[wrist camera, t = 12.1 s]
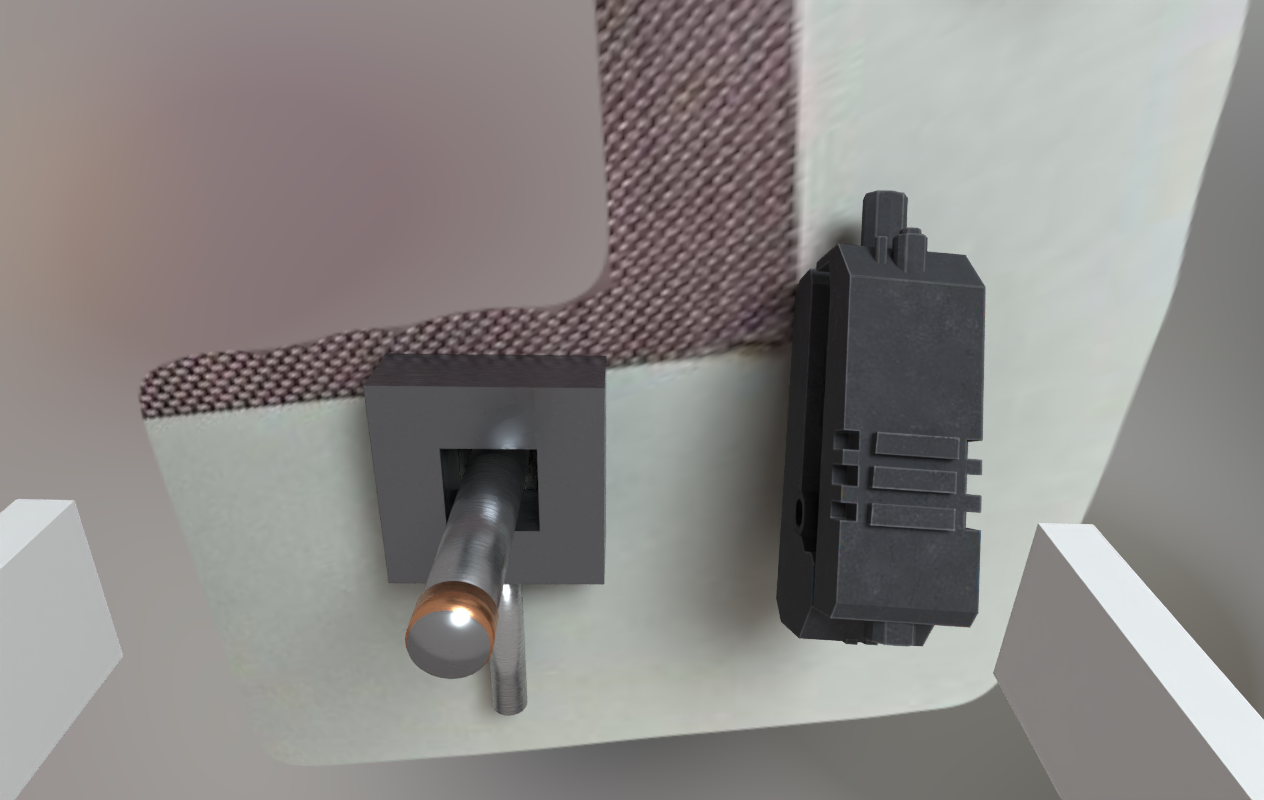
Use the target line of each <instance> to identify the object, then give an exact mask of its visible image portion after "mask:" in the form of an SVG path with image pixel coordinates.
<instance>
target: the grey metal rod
mask: <svg viewBox="0 0 1264 800" xmlns="http://www.w3.org/2000/svg"><path fill="white" fill-rule="evenodd" d="M529 460H530V449H472V452H471V455H470V458H469V461H468V464H467V467H466V470H465V473H464V475H463V478H462V481H461V484H460V487H459V490H458V493H457V496H456V499H455V502H454V504H453V507H452V510H451V513H450V516H449V519H448V522H447V525H446V528H445V530H444V533H443V536H442V539H441V542H440V545H439V548H438V551H437V554H436V556H435V559H434V562H433V565H432V568H431V571H430V574H429V577H428V580H427V582H426V585H425V588H424V591H423V593H422V594H421V596H420V597H419V599H418V601H417V603H416V606H415V609H414V612H413V615H412V618H411V620H410V623H409V626H408V629H407V632H406V637H405V643H406V648H407V651H408V653H409V655H410V657H411V659H412V660H413V662H414V663H415V664H416V665H417V666H418V667H419V668H420V669H422V670H423V671H425V672H427V673H429V674H431V675H433V676H436V677H440V678H448V679H456V678H462V677H466V676H469V675H471V674H473V673H475V672H477V671H478V670H479V669H480V668H482V667H483V666H484V665H485V664H486V663H487V662H488V660H489V658H490V657H491V654H492V651H493V646H494V641H495V636H496V631H497V626H498V621H499V613H498V608H499V604H500V599H501V594H502V589H503V585H504V580H505V575H506V570H507V565H508V561H509V556H510V551H511V546H512V541H513V537H514V532H515V527H516V522H517V517H518V513H519V508H520V503H521V498H522V493H523V489H524V484H525V479H526V474H527V469H528V465H529Z"/></svg>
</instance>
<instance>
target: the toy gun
mask: <svg viewBox="0 0 1264 800" xmlns="http://www.w3.org/2000/svg"><path fill="white" fill-rule="evenodd" d="M907 204H908V198H907V196H906V195H905V194H904V193H901V192H896V191H874V192H870V193H867V194H866V195H865V197H864V200H863V211H862V231H861V246H858V245H847V244H837V245H836V246H835V247H834V248H833V249H832V250H830V251H829V252H828V253H827V254H826V255H825V256H824V257H823V258H821V259H820V260H819V261H818V262H817V269H810V270H809V271H808V272H807V273H806V274H805V275H804V276H803V277H802V279H801V280H800V282H799V286H798V290H797V294H796V297H795V310H794V326H793V342H792V358H791V374H790V390H789V406H788V422H787V438H786V453H785V469H784V485H783V501H782V517H781V533H780V549H779V565H778V581H777V597H776V599H777V604H778V609H779V614H780V619H781V622H782V623H783V624H784V625H785V626H786V627H787V628H789V629H790V630H791V631H792V632H793V633H794V634H795V635H796V636H797V637H798V638H804V639H819V640H834V641H843V642H844V643H846V644H854V645H857V642H862V643H864V644H866V645H878V643H880V644H884V645H893V646H923V645H924V643H925V641H926V639H927V638H928V636H929V634H930V632H931V630H932V629H933V627H934V625H941V626H956V627H970V626H971V625H972V623H973V621H974V619H975V618H976V616H977V614H978V604H979V572H980V541H981V530H975V529H970V528H966V512H977V513H981V496H980V495H970V494H966V489H967V474H969V475H982V460H978V459H967V457H968V442H972V441H983V391H984V339H985V286H984V284H983V282H982V281H981V279H980V278H979V276H978V274H977V273H976V271H975V270H974V268H973V266H972V265H971V263H970V262H969V260H968V258H967V257H966V255H959V254H948V253H937V252H927V239H928V238H927V237H926V236H925V235H923V234H921V230H920V229H919V228H906V226H907Z"/></svg>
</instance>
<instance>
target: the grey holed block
mask: <svg viewBox="0 0 1264 800" xmlns="http://www.w3.org/2000/svg"><path fill="white" fill-rule="evenodd" d="M363 387H364V395H365V402H366V410H367V418H368V426H369V433H370V441H371V449H372V457H373V464H374V472H375V480H376V488H377V495H378V503H379V511H380V519H381V526H382V534H383V542H384V550H385V557H386V565H387V573H388V581H389V583H426V582H427V580H428V577H429V574H430V571H431V568H432V565H433V562H434V559H435V556H436V554H437V551H438V548H439V545H440V542H441V539H442V536H443V533H444V530H445V528H446V525H447V522H448V519H449V516H450V513H451V510H452V507H453V504H454V502H455V499H456V496H457V493H458V490H459V487H460V484H461V482H460V469H459V457H458V449H537V465H538V490H523V493H522V498H521V503H520V508H519V513H518V517H517V522H516V527H515V532H514V537H513V541H512V546H511V551H510V556H509V561H508V565H507V570H506V575H505V580H504V585H503V589H502V594H501V599H500V604H499V608H498V613H499V621H498V626H497V631H496V636H495V641H494V646H493V651H492V654H491V657H490V671H491V685H492V699H493V707H494V709H495V711H496V712H498V713H499V714H502V715H515V714H518V713H520V712H521V711H523V710H524V709H525V707H526V705H527V681H526V660H525V639H524V618H523V597H522V584H604V574H605V542H606V356H554V355H466V354H385V356H384V357H383V359H382V360H381V361H380V363H379V364H378V366H377V367H376V368H375V370H374V371H373V373H372V374H371V376H370V377H369V378H368V380H367V381H366V383H365V384H364V386H363Z"/></svg>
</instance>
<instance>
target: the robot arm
mask: <svg viewBox="0 0 1264 800" xmlns="http://www.w3.org/2000/svg"><path fill="white" fill-rule="evenodd" d="M122 657H123V654H122V650H121V648H120V644H119V641H118V637H117V634H116V631H115V628H114V625H113V622H112V618H111V615H110V612H109V609H108V606H107V603H106V599H105V596H104V593H103V590H102V587H101V583H100V580H99V577H98V574H97V570H96V567H95V564H94V561H93V558H92V555H91V551H90V548H89V545H88V542H87V539H86V535H85V532H84V529H83V526H82V522H81V519H80V516H79V513H78V510H77V506H76V503H75V501H74V500H37V499H16V500H15V501H14V502H13V503H12V504H10V505H9V506H8V507H7V508H6V509H4V510H3V511H2V512H1V513H0V800H15V799H16V798H17V796H18V795H19V794H20V792H21V791H22V790H23V788H24V787H25V786H26V784H27V783H28V782H29V780H30V779H31V778H32V776H33V775H34V774H35V772H36V771H37V770H38V768H39V767H40V766H41V764H42V763H43V762H44V760H45V759H46V758H47V756H48V755H49V754H50V752H51V751H52V750H53V748H54V747H55V746H56V745H57V743H58V742H59V741H60V739H61V738H62V736H63V735H64V734H65V733H66V731H67V730H68V729H69V727H70V726H71V725H72V723H73V722H74V720H75V719H76V718H77V717H78V715H79V714H80V712H81V711H82V710H83V709H84V707H85V706H86V705H87V703H88V702H89V701H90V699H91V698H92V697H93V695H94V694H95V693H96V691H97V690H98V689H99V687H100V686H101V685H102V683H103V682H104V681H105V679H106V678H107V677H108V675H109V674H110V673H111V671H112V670H113V669H114V667H115V666H116V665H117V663H118V662H119V661H120V659H121V658H122ZM993 674H994V675H995V677H996V679H997V681H998V683H999V685H1000V687H1001V689H1002V690H1003V692H1004V694H1005V696H1006V698H1007V699H1008V702H1009V703H1010V705H1011V707H1012V708H1013V711H1014V713H1015V714H1016V716H1017V718H1018V720H1019V722H1020V724H1021V726H1022V728H1023V729H1024V731H1025V733H1026V735H1027V736H1028V739H1029V741H1030V743H1031V744H1032V746H1033V748H1034V750H1035V752H1036V754H1037V756H1038V757H1039V759H1040V761H1041V763H1042V765H1043V767H1044V769H1045V770H1046V772H1047V774H1048V776H1049V778H1050V780H1051V782H1052V783H1053V785H1054V787H1055V789H1056V791H1057V793H1058V795H1059V796H1060V798H1061V800H1264V720H1263V719H1262V718H1261V716H1260V715H1259V714H1258V713H1257V712H1256V711H1255V710H1254V708H1253V707H1252V706H1251V705H1250V704H1249V703H1248V702H1247V700H1246V699H1245V698H1244V697H1243V696H1242V695H1241V694H1240V692H1239V691H1238V690H1237V689H1236V688H1235V687H1234V685H1233V684H1232V683H1231V682H1230V681H1229V680H1228V679H1227V677H1225V675H1224V674H1223V673H1222V672H1221V671H1220V669H1219V668H1218V667H1217V666H1216V665H1215V664H1214V663H1213V662H1212V660H1211V659H1210V658H1209V657H1208V656H1207V655H1206V654H1205V652H1204V651H1203V650H1202V649H1201V648H1200V647H1199V645H1198V644H1197V643H1196V642H1195V641H1194V640H1193V639H1192V637H1191V636H1189V634H1188V633H1187V632H1186V630H1185V629H1184V628H1183V627H1182V626H1181V625H1180V624H1179V622H1178V621H1177V620H1176V619H1175V618H1174V617H1173V616H1172V614H1171V613H1170V612H1169V611H1168V610H1167V609H1166V608H1165V606H1164V605H1163V604H1162V603H1161V602H1160V601H1159V600H1158V598H1157V597H1156V596H1155V595H1154V594H1153V593H1152V592H1151V590H1150V589H1149V588H1148V587H1147V586H1146V585H1145V584H1144V582H1143V581H1142V580H1141V579H1140V578H1139V577H1138V575H1137V574H1136V573H1135V572H1134V571H1133V570H1132V569H1131V567H1130V566H1129V565H1128V564H1127V563H1126V562H1125V561H1124V559H1123V558H1122V557H1121V556H1120V555H1119V554H1118V553H1117V551H1116V550H1115V549H1114V548H1113V547H1112V546H1111V545H1110V543H1109V542H1108V541H1107V540H1106V539H1105V538H1104V537H1103V535H1102V534H1101V533H1100V532H1099V531H1098V530H1097V528H1096V527H1095V526H1094V525H1091V524H1052V523H1038V526H1037V529H1036V532H1035V536H1034V539H1033V542H1032V546H1031V549H1030V552H1029V556H1028V559H1027V562H1026V566H1025V569H1024V572H1023V576H1022V579H1021V582H1020V586H1019V589H1018V592H1017V596H1016V599H1015V602H1014V606H1013V609H1012V612H1011V616H1010V619H1009V622H1008V626H1007V629H1006V632H1005V636H1004V639H1003V642H1002V646H1001V649H1000V652H999V656H998V659H997V662H996V666H995V669H994V672H993Z"/></svg>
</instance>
